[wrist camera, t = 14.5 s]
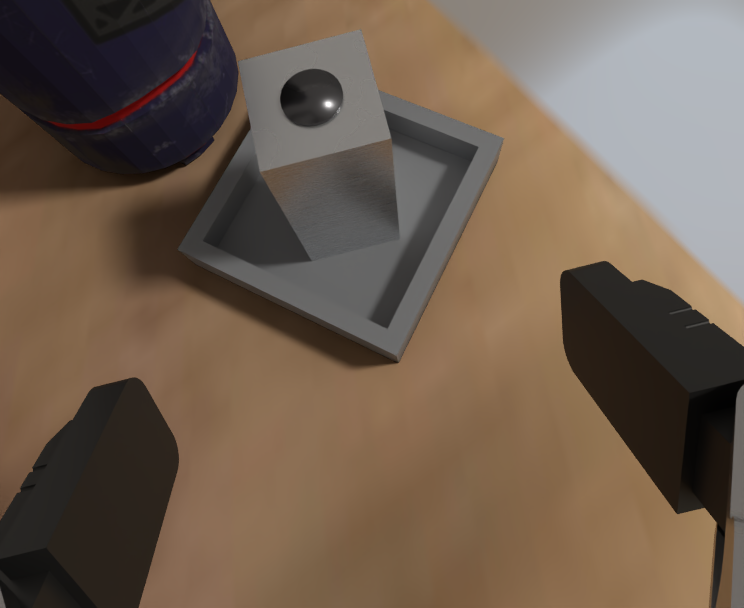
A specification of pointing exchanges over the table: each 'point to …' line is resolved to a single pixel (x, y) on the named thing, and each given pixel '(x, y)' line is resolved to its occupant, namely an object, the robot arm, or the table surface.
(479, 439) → the table surface
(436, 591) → the table surface
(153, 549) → the robot arm
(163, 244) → the table surface
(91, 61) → the grenade
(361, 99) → the grey tall block
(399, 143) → the tray
